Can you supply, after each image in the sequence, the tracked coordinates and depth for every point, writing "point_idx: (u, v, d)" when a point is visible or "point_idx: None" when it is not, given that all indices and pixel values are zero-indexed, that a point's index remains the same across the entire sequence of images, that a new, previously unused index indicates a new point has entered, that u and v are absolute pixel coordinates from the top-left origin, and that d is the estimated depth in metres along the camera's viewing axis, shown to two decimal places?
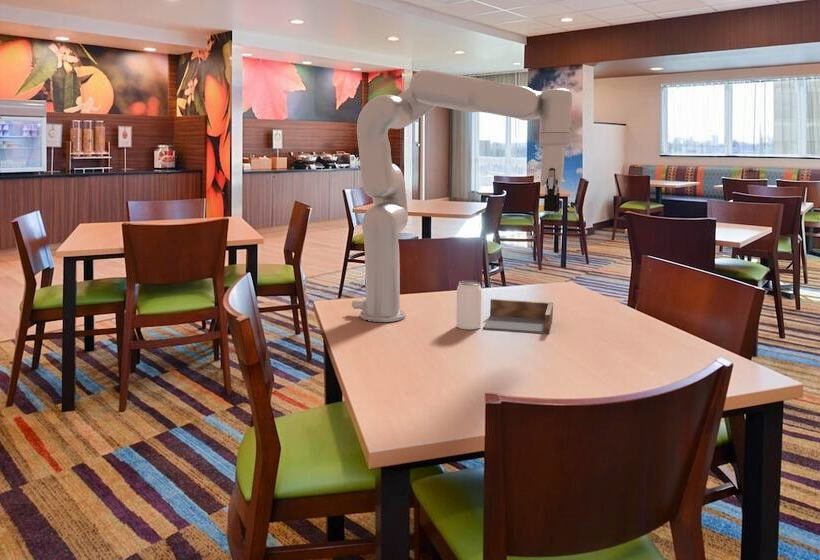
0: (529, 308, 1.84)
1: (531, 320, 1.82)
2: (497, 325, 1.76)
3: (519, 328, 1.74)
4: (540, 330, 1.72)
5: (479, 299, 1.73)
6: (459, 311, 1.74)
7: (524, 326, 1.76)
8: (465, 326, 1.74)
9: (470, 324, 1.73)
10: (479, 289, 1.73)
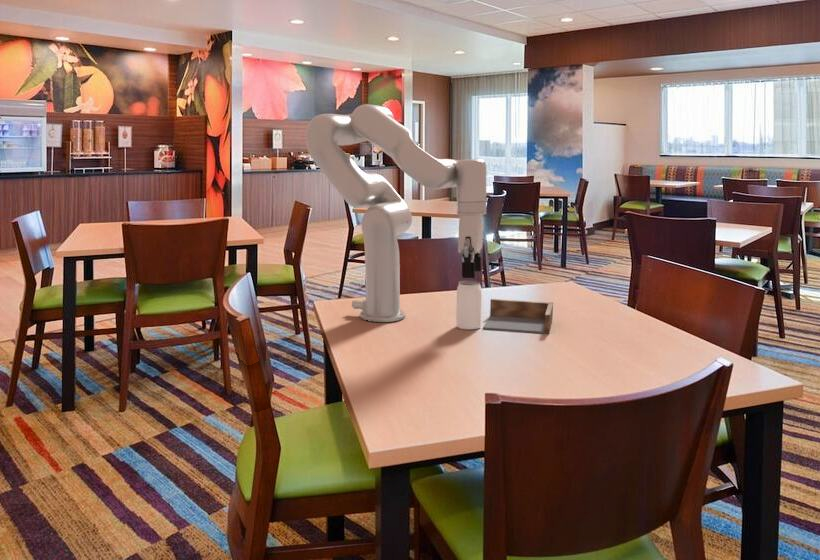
0: (529, 308, 1.84)
1: (531, 320, 1.82)
2: (497, 325, 1.76)
3: (519, 328, 1.74)
4: (540, 330, 1.72)
5: (479, 299, 1.73)
6: (459, 311, 1.74)
7: (524, 326, 1.76)
8: (465, 326, 1.74)
9: (470, 324, 1.73)
10: (479, 289, 1.73)
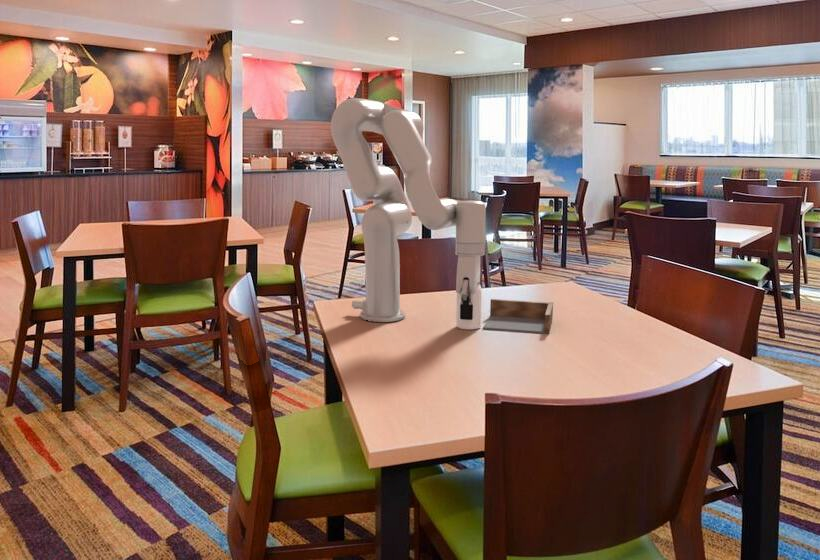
0: (529, 308, 1.84)
1: (531, 320, 1.82)
2: (497, 325, 1.76)
3: (519, 328, 1.74)
4: (540, 330, 1.72)
5: (479, 299, 1.73)
6: (459, 311, 1.74)
7: (524, 326, 1.76)
8: (465, 326, 1.74)
9: (470, 324, 1.73)
10: (479, 289, 1.73)
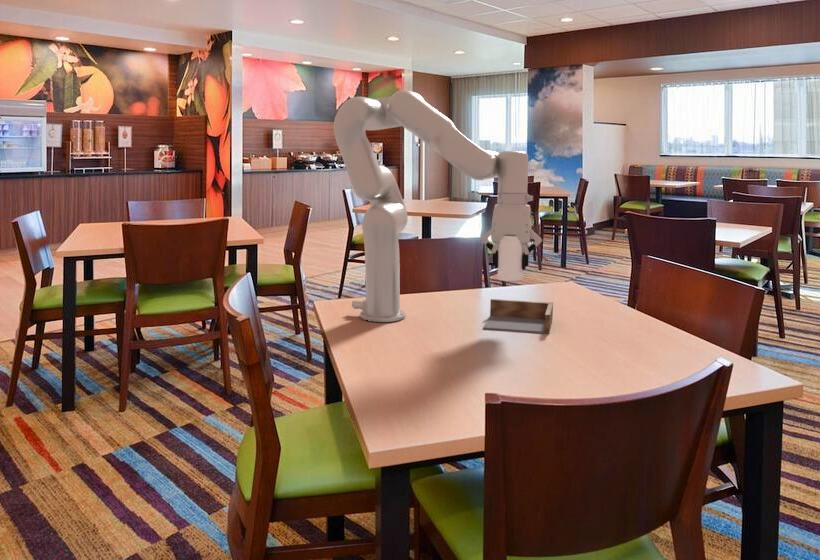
0: (529, 308, 1.84)
1: (531, 320, 1.82)
2: (497, 325, 1.76)
3: (519, 328, 1.74)
4: (540, 330, 1.72)
5: (504, 251, 1.71)
6: None
7: (524, 326, 1.76)
8: None
9: None
10: (505, 241, 1.71)
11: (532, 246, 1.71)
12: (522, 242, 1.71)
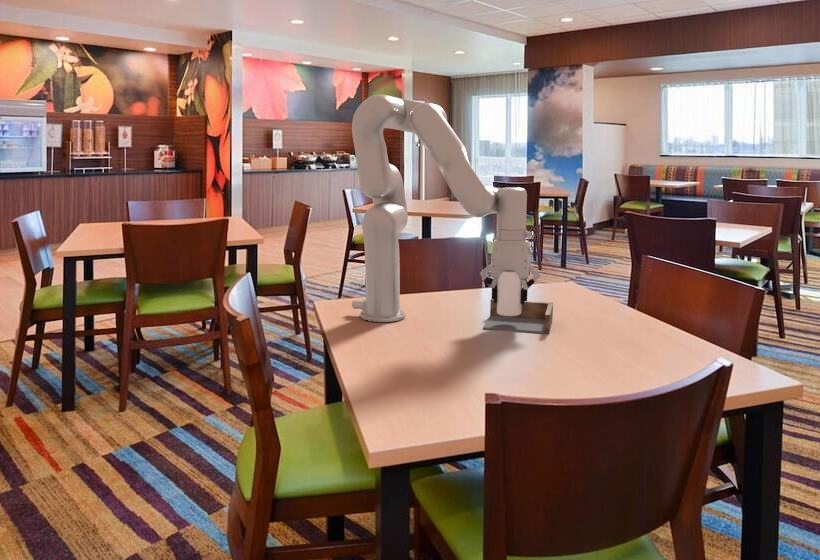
0: (529, 308, 1.84)
1: (531, 320, 1.82)
2: (497, 325, 1.76)
3: (519, 328, 1.74)
4: (540, 330, 1.72)
5: (503, 286, 1.73)
6: None
7: (524, 326, 1.76)
8: None
9: (497, 307, 1.77)
10: (504, 276, 1.73)
11: (531, 281, 1.73)
12: (521, 277, 1.73)
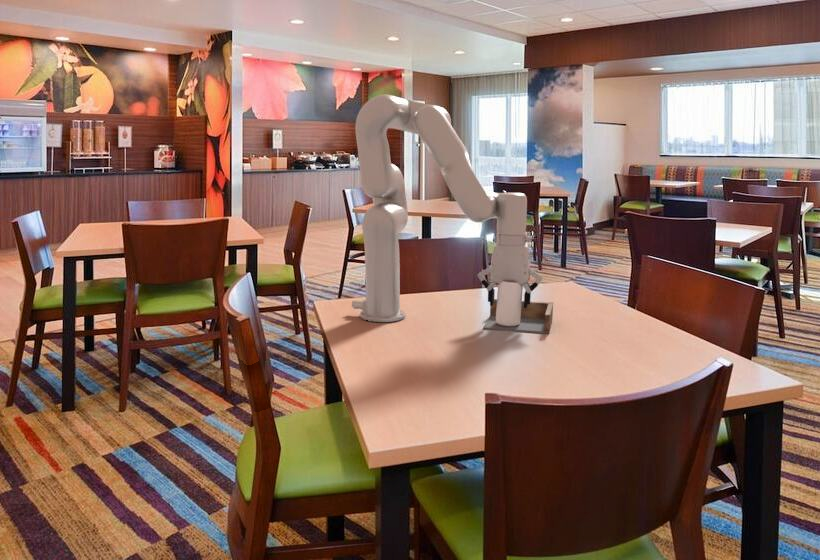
0: (529, 308, 1.84)
1: (531, 320, 1.82)
2: (497, 325, 1.76)
3: (519, 328, 1.74)
4: (540, 330, 1.72)
5: (503, 296, 1.74)
6: None
7: (524, 326, 1.76)
8: None
9: (496, 317, 1.77)
10: (504, 286, 1.73)
11: (534, 285, 1.73)
12: (520, 283, 1.73)
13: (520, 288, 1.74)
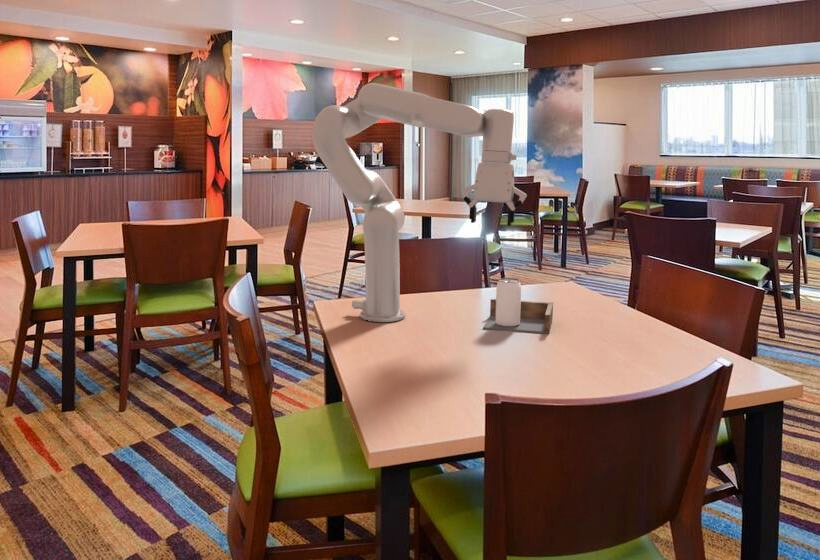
0: (529, 308, 1.84)
1: (531, 320, 1.82)
2: (497, 325, 1.76)
3: (519, 328, 1.74)
4: (540, 330, 1.72)
5: (502, 296, 1.74)
6: None
7: (524, 326, 1.76)
8: None
9: None
10: (503, 287, 1.73)
11: (518, 202, 1.73)
12: (503, 200, 1.73)
13: (518, 288, 1.74)
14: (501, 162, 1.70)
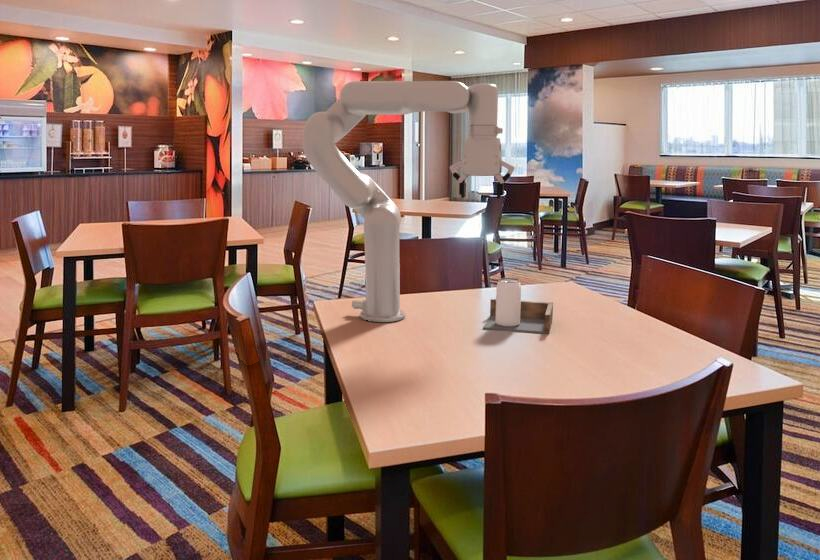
0: (529, 308, 1.84)
1: (531, 320, 1.82)
2: (497, 325, 1.76)
3: (519, 328, 1.74)
4: (540, 330, 1.72)
5: (502, 296, 1.74)
6: None
7: (524, 326, 1.76)
8: None
9: None
10: (503, 287, 1.73)
11: (507, 175, 1.76)
12: (492, 174, 1.75)
13: (518, 288, 1.74)
14: (488, 136, 1.73)
